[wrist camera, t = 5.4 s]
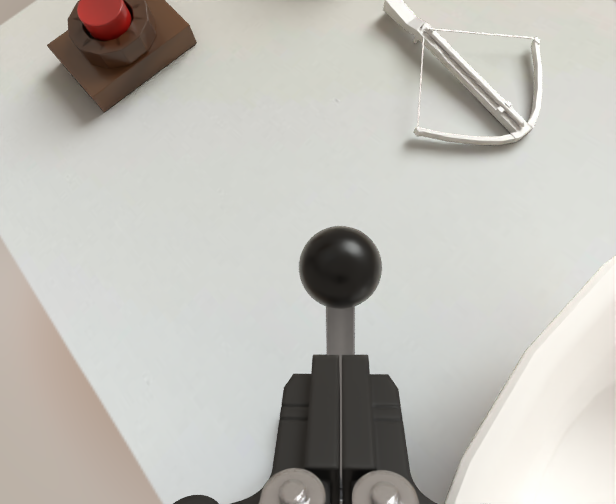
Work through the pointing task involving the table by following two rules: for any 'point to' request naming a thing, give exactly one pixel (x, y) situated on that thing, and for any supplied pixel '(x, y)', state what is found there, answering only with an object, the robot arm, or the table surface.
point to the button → (104, 18)
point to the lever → (340, 286)
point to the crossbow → (469, 80)
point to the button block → (123, 50)
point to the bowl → (553, 414)
